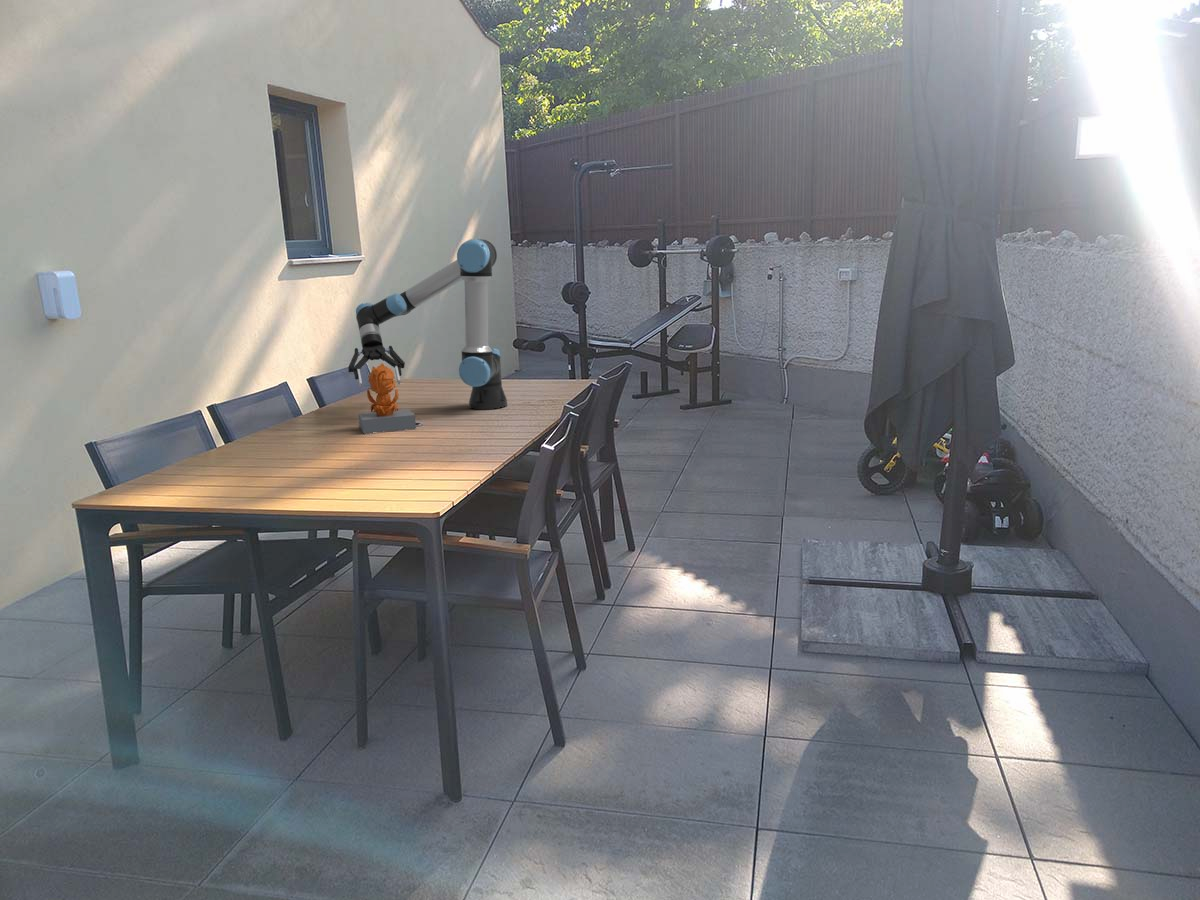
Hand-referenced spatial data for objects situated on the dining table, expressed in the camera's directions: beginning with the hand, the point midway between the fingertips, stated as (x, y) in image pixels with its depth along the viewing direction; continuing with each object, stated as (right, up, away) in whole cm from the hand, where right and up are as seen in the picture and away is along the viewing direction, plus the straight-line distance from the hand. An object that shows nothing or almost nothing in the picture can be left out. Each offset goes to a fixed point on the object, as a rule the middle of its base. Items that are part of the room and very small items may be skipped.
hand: (380, 383), depth 328 cm
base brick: (+4, -16, -6) cm, 18 cm away
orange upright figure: (+4, -12, -7) cm, 14 cm away
